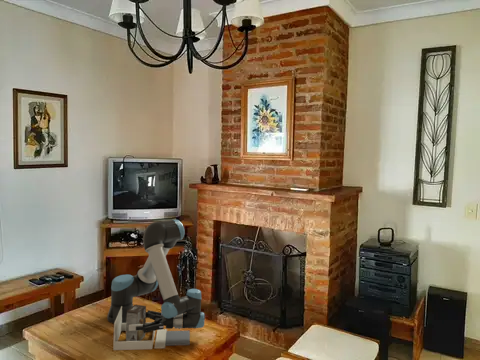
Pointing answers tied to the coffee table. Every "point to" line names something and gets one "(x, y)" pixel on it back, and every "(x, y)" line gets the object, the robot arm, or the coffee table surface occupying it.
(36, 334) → the coffee table surface
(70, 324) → the coffee table surface
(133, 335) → the coffee box
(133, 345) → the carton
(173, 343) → the mat
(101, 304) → the coffee table surface
